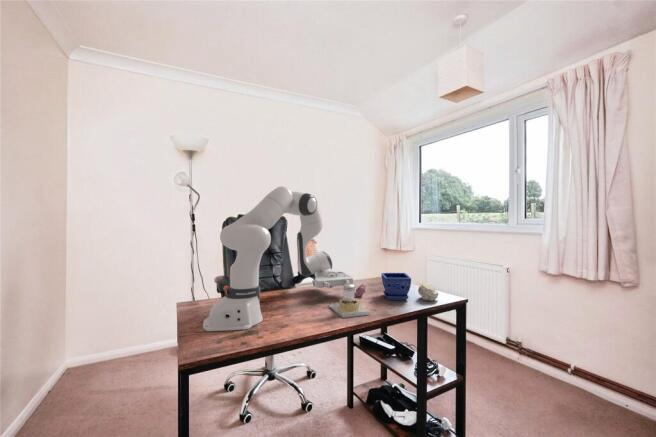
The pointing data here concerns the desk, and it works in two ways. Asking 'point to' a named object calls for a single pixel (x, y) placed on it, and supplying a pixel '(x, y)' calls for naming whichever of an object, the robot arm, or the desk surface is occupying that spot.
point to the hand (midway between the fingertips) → (339, 285)
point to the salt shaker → (349, 293)
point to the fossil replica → (427, 292)
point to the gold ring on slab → (349, 309)
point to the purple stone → (360, 290)
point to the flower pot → (396, 285)
